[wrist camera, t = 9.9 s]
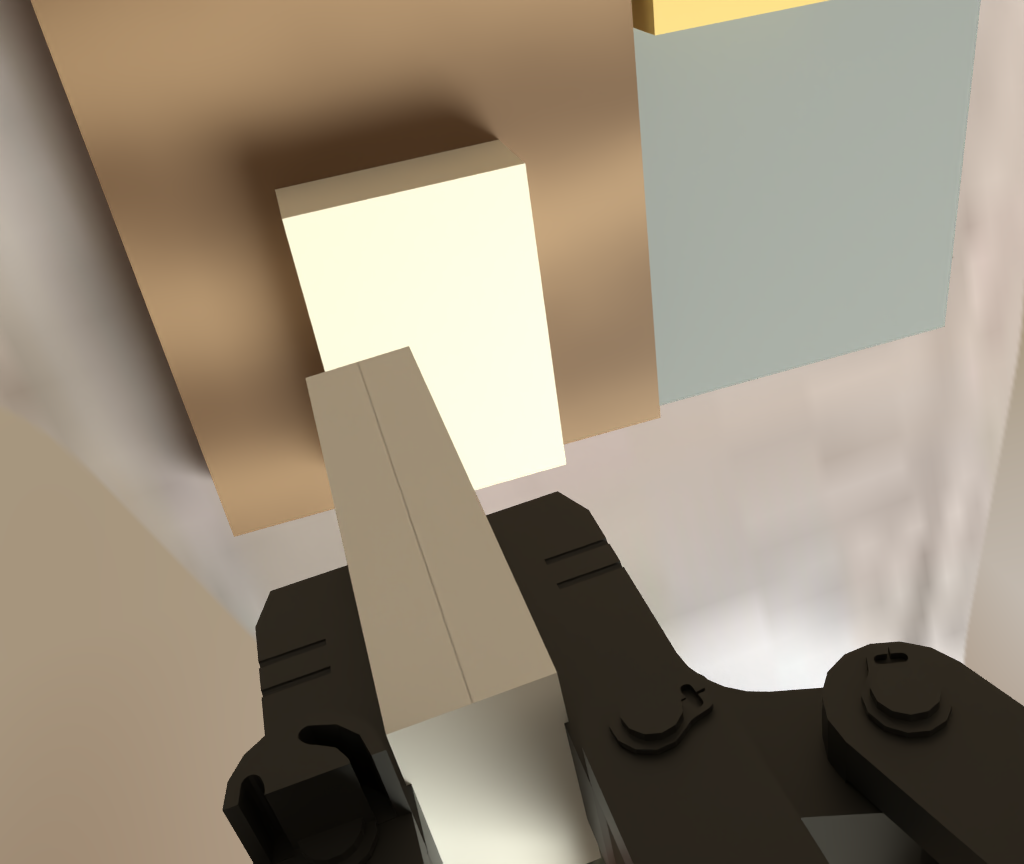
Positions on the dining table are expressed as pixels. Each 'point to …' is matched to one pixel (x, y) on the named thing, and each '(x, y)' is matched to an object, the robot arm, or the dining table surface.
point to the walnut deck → (340, 150)
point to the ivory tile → (438, 294)
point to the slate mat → (801, 183)
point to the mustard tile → (700, 12)
